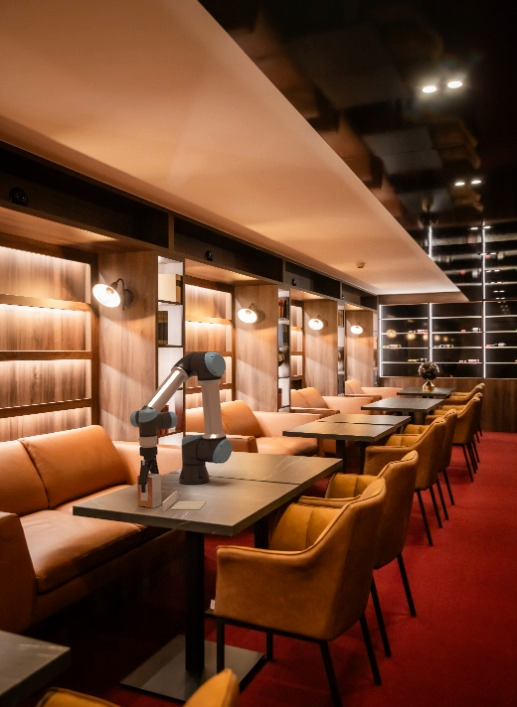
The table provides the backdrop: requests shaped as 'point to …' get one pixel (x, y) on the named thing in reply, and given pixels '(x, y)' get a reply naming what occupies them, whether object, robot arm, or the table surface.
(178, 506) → the mat
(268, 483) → the table surface
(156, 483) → the small box
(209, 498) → the table surface
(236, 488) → the table surface
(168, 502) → the fence
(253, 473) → the table surface
